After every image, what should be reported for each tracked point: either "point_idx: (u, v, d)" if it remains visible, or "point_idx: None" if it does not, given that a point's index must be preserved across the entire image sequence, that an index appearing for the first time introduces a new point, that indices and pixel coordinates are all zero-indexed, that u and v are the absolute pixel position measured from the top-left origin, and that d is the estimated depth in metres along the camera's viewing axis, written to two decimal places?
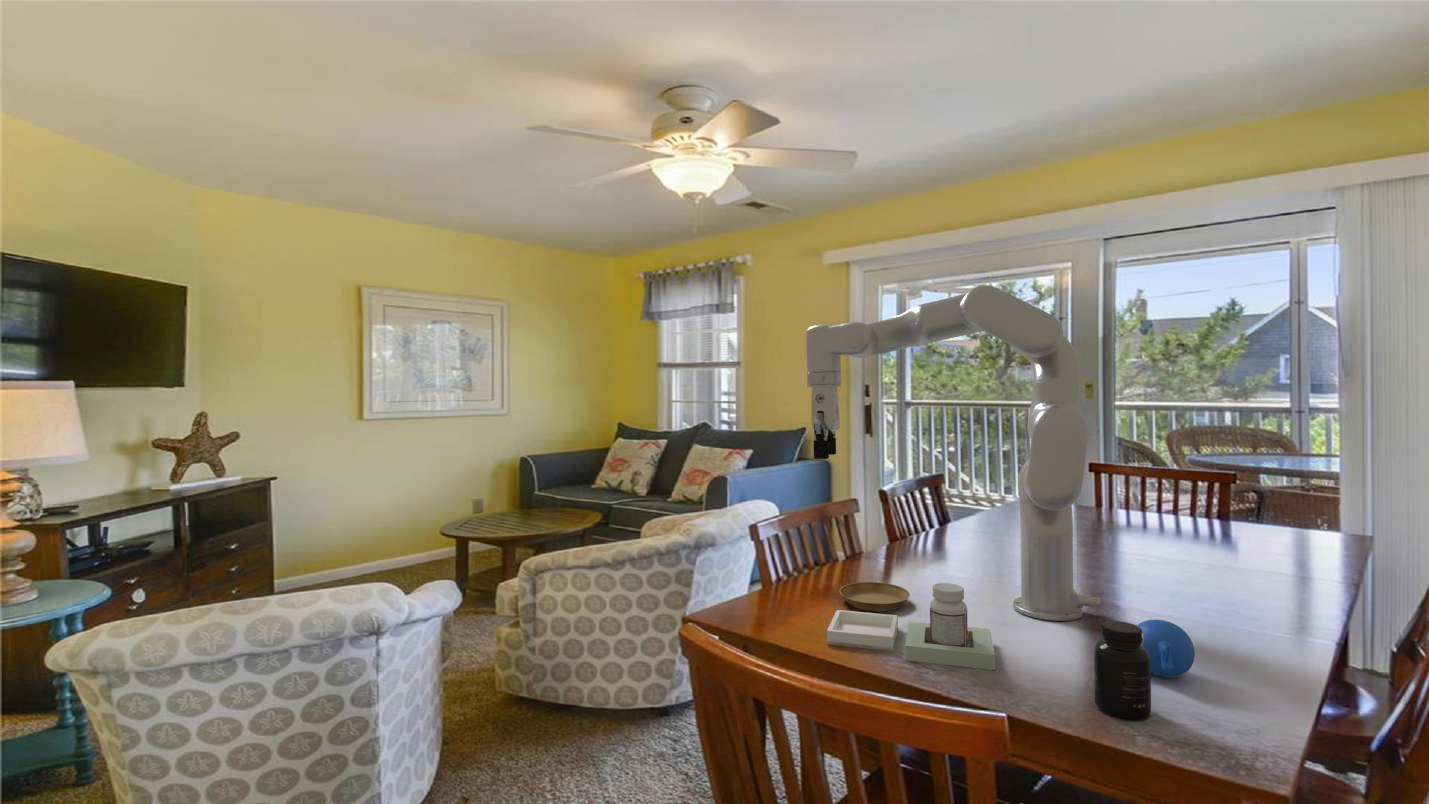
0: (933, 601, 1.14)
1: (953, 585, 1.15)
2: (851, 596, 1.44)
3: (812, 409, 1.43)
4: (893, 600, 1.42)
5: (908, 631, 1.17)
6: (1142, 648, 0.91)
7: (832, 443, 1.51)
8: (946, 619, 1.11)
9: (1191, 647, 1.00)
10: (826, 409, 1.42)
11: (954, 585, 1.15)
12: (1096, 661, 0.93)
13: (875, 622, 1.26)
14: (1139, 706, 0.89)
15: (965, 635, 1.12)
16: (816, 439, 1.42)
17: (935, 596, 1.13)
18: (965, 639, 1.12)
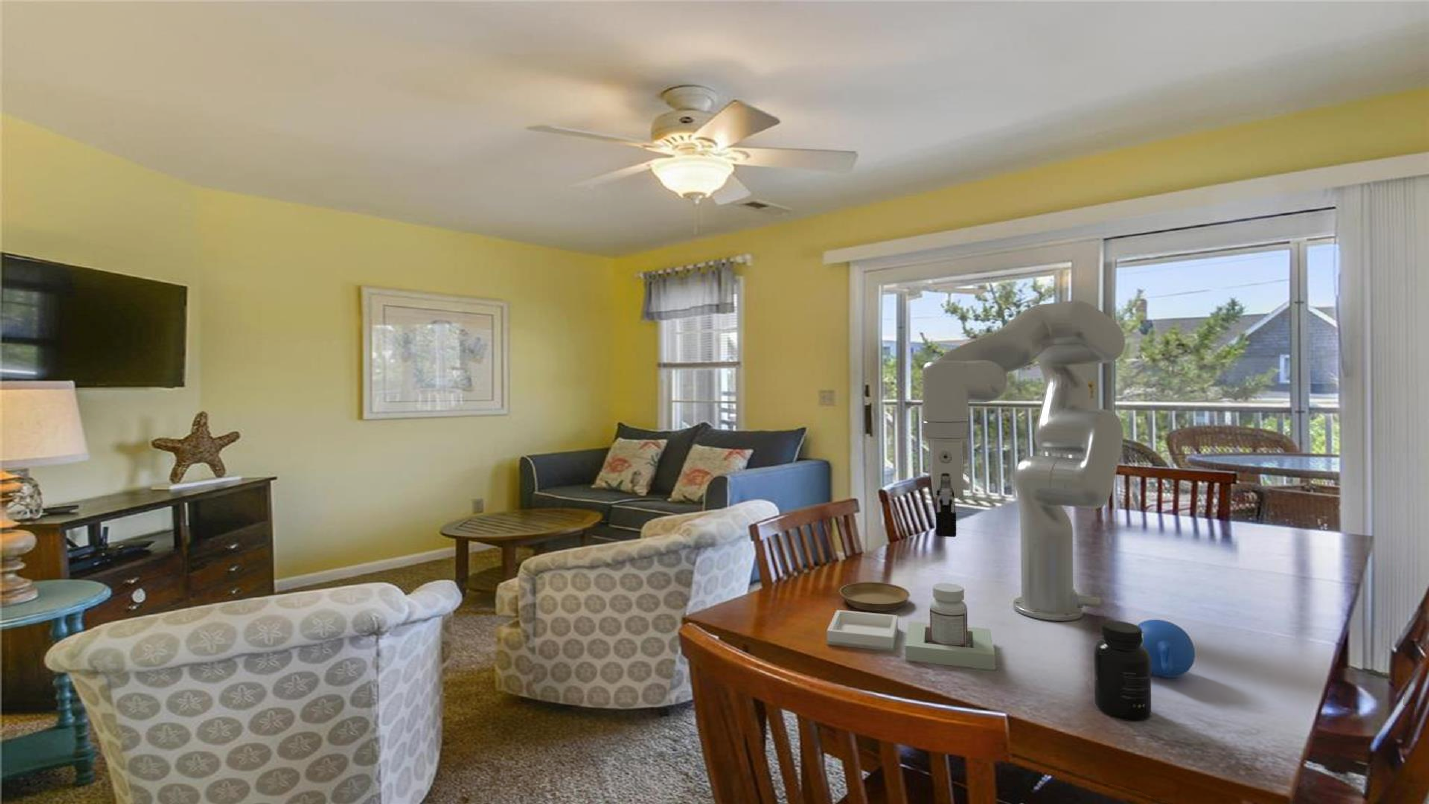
0: (933, 601, 1.14)
1: (953, 585, 1.15)
2: (851, 596, 1.44)
3: (934, 471, 1.10)
4: (893, 600, 1.42)
5: (908, 631, 1.17)
6: (1142, 648, 0.91)
7: None
8: (946, 619, 1.11)
9: (1191, 647, 1.00)
10: (954, 471, 1.08)
11: (954, 585, 1.15)
12: (1096, 661, 0.93)
13: (875, 622, 1.26)
14: (1139, 706, 0.89)
15: (965, 635, 1.12)
16: (941, 511, 1.08)
17: (935, 596, 1.13)
18: (965, 639, 1.12)
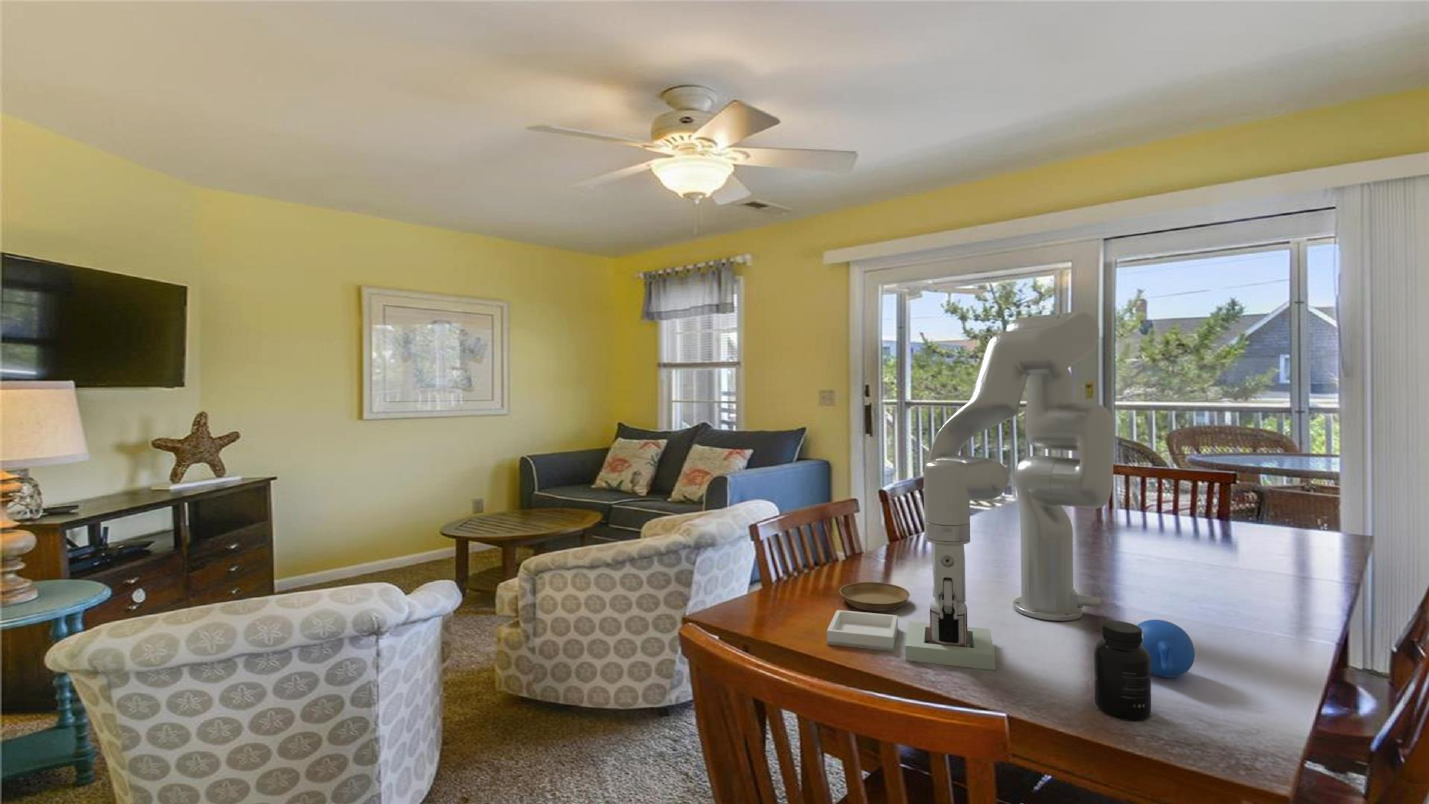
0: (933, 601, 1.14)
1: None
2: (851, 596, 1.44)
3: (936, 574, 1.10)
4: (893, 600, 1.42)
5: (908, 631, 1.17)
6: (1142, 648, 0.91)
7: None
8: None
9: (1190, 647, 1.00)
10: (956, 576, 1.09)
11: None
12: (1096, 661, 0.93)
13: (875, 622, 1.26)
14: (1139, 706, 0.89)
15: (965, 635, 1.12)
16: (943, 618, 1.10)
17: None
18: (965, 639, 1.12)
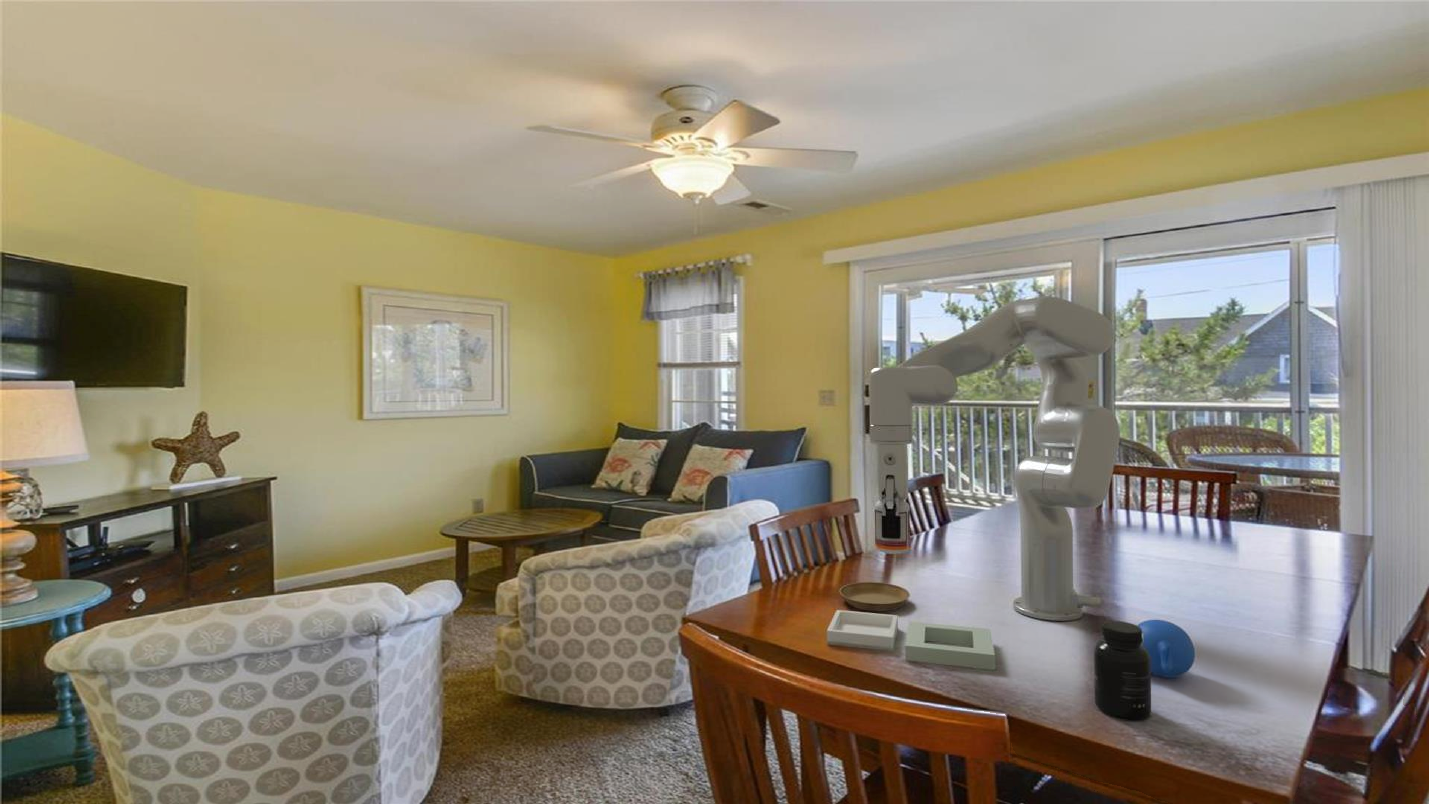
0: (878, 502, 1.19)
1: None
2: (851, 596, 1.44)
3: (879, 472, 1.14)
4: (893, 600, 1.42)
5: (908, 631, 1.17)
6: (1142, 648, 0.91)
7: None
8: None
9: (1191, 647, 1.00)
10: (898, 473, 1.13)
11: None
12: (1096, 661, 0.93)
13: (875, 622, 1.26)
14: (1139, 706, 0.89)
15: (907, 533, 1.16)
16: (886, 514, 1.14)
17: None
18: (907, 536, 1.16)
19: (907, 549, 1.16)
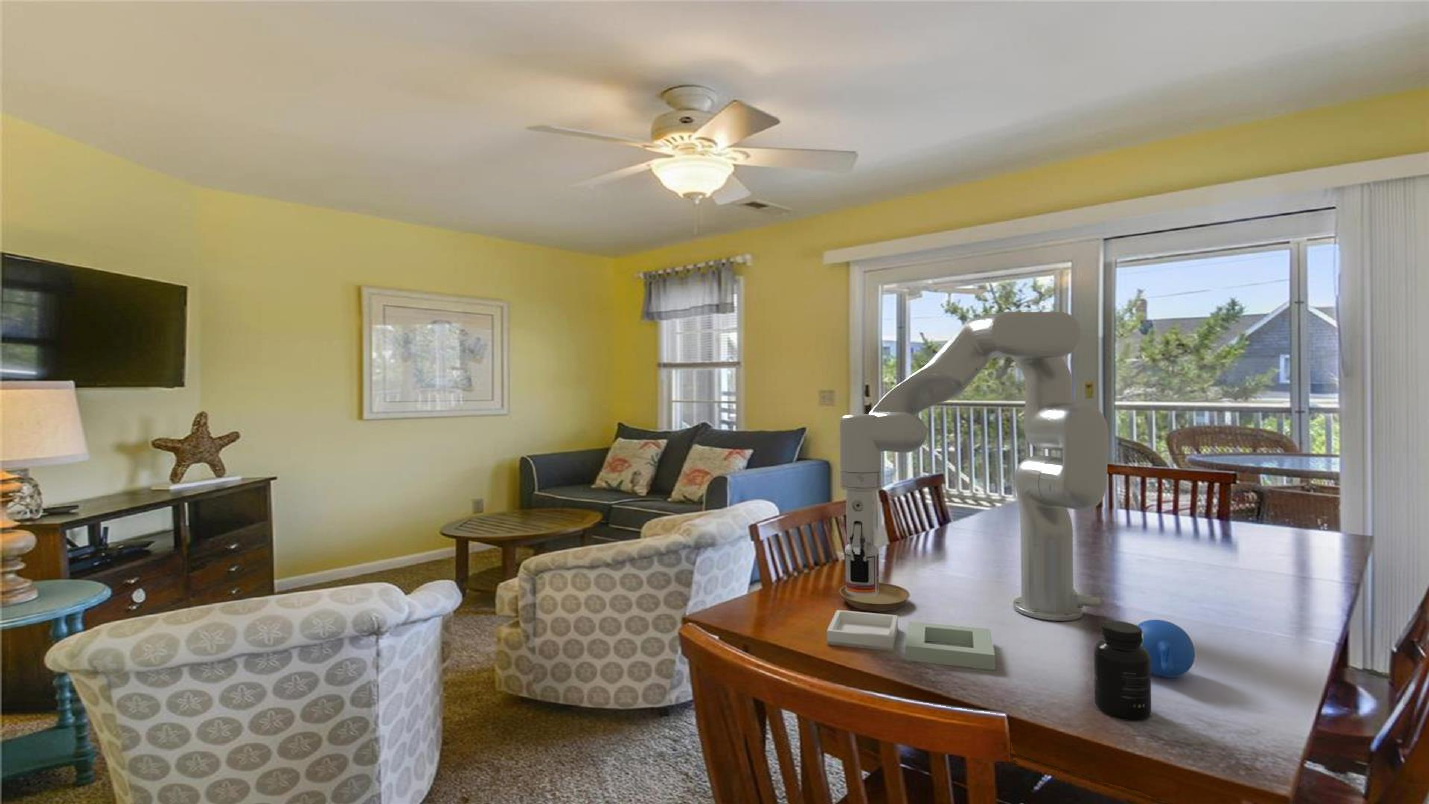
0: (847, 545, 1.22)
1: None
2: (851, 596, 1.44)
3: (848, 518, 1.18)
4: (893, 600, 1.42)
5: (908, 631, 1.17)
6: (1142, 648, 0.91)
7: None
8: None
9: (1191, 647, 1.00)
10: (865, 519, 1.16)
11: None
12: (1096, 661, 0.93)
13: (875, 622, 1.26)
14: (1139, 706, 0.89)
15: (876, 576, 1.20)
16: (854, 559, 1.18)
17: None
18: (875, 580, 1.20)
19: (876, 592, 1.20)
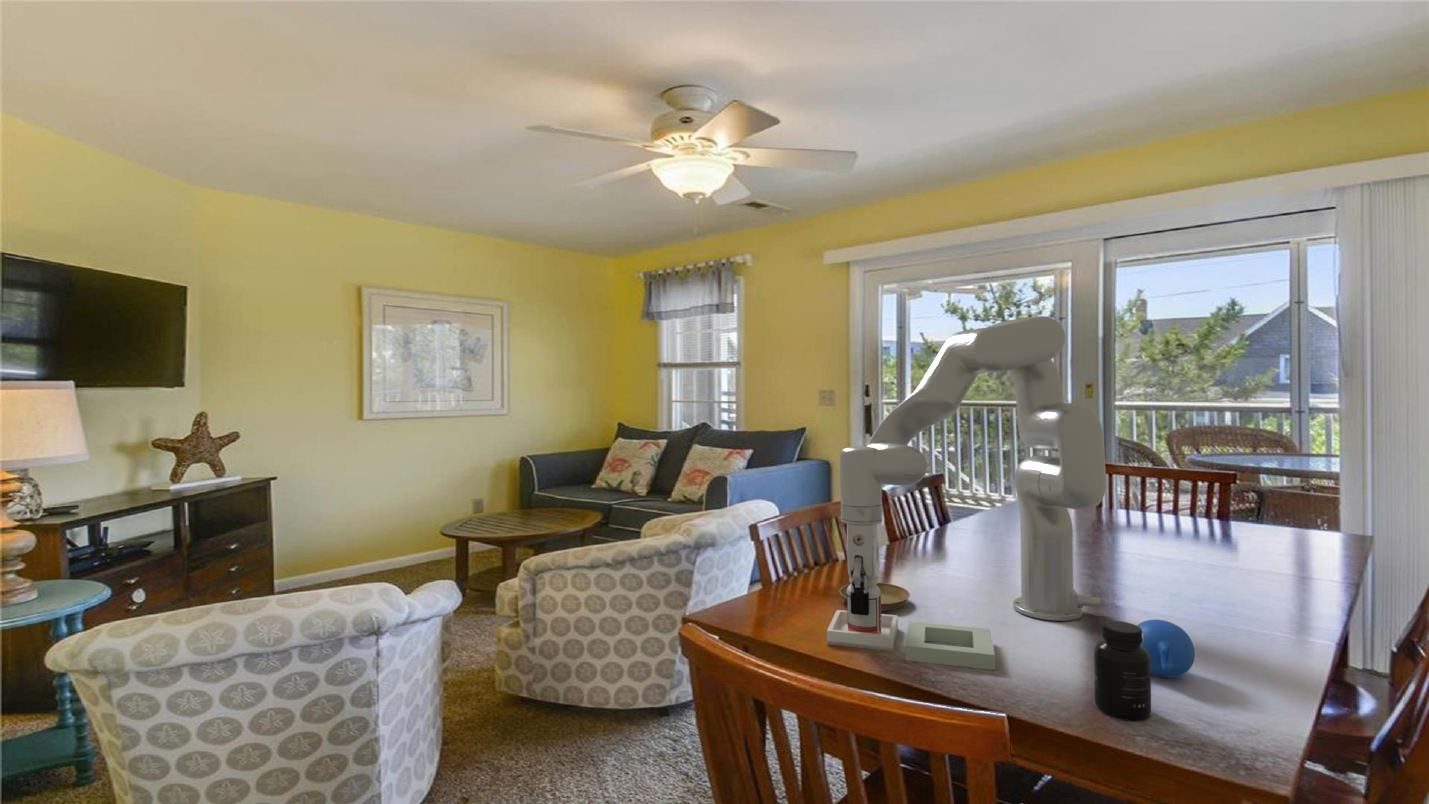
0: (849, 586, 1.22)
1: None
2: None
3: (848, 552, 1.18)
4: (893, 600, 1.42)
5: (908, 631, 1.17)
6: (1142, 648, 0.91)
7: None
8: None
9: (1191, 647, 1.00)
10: (866, 554, 1.17)
11: None
12: (1096, 661, 0.93)
13: None
14: (1139, 706, 0.89)
15: (878, 618, 1.19)
16: (854, 591, 1.17)
17: (850, 581, 1.21)
18: (878, 621, 1.19)
19: None
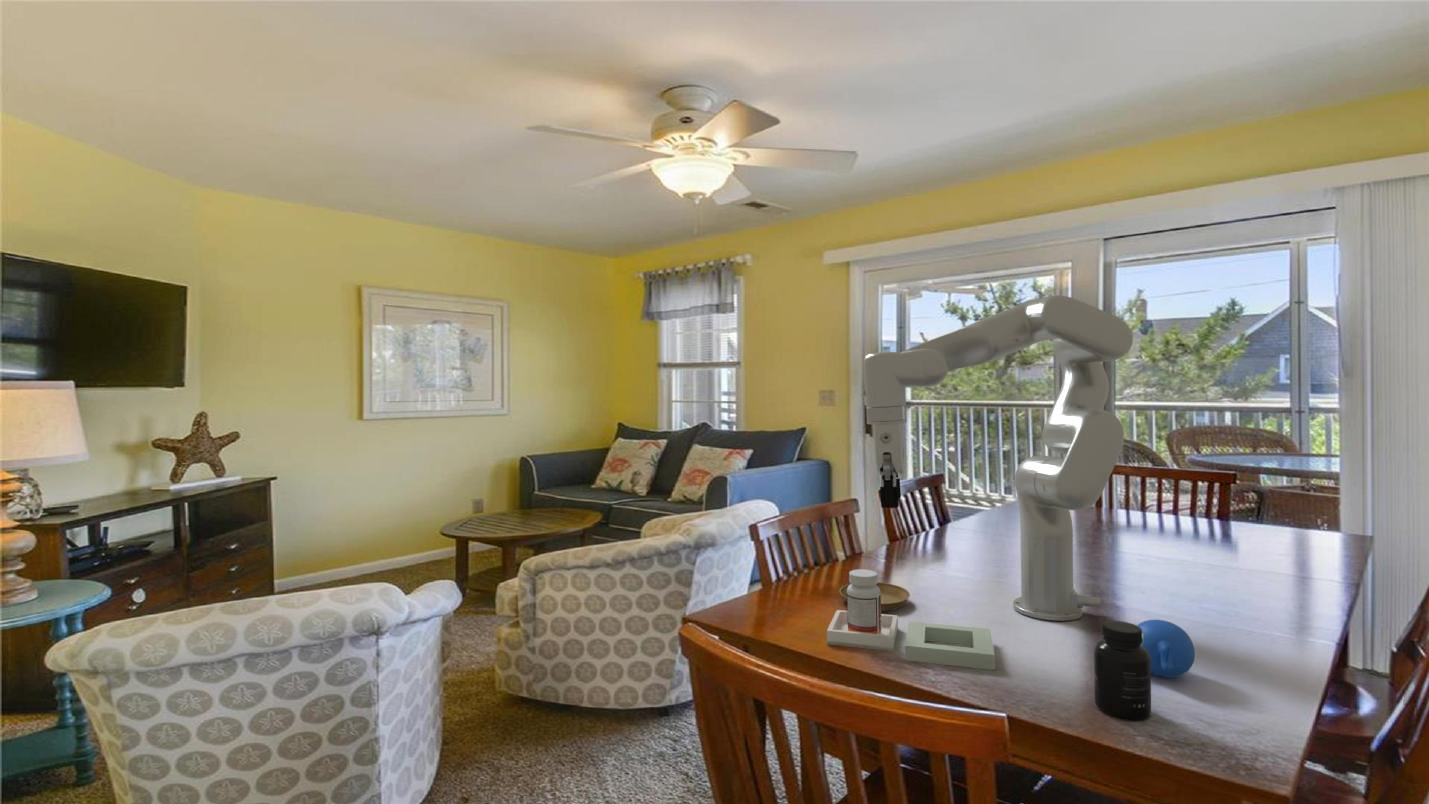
0: (849, 586, 1.22)
1: (868, 571, 1.23)
2: None
3: (877, 450, 1.24)
4: (893, 600, 1.42)
5: (908, 631, 1.17)
6: (1142, 648, 0.91)
7: (896, 485, 1.32)
8: (859, 602, 1.19)
9: (1191, 647, 1.00)
10: (894, 450, 1.23)
11: (870, 571, 1.22)
12: (1096, 661, 0.93)
13: None
14: (1139, 706, 0.89)
15: (878, 617, 1.19)
16: (884, 485, 1.22)
17: (850, 581, 1.21)
18: (878, 621, 1.19)
19: None
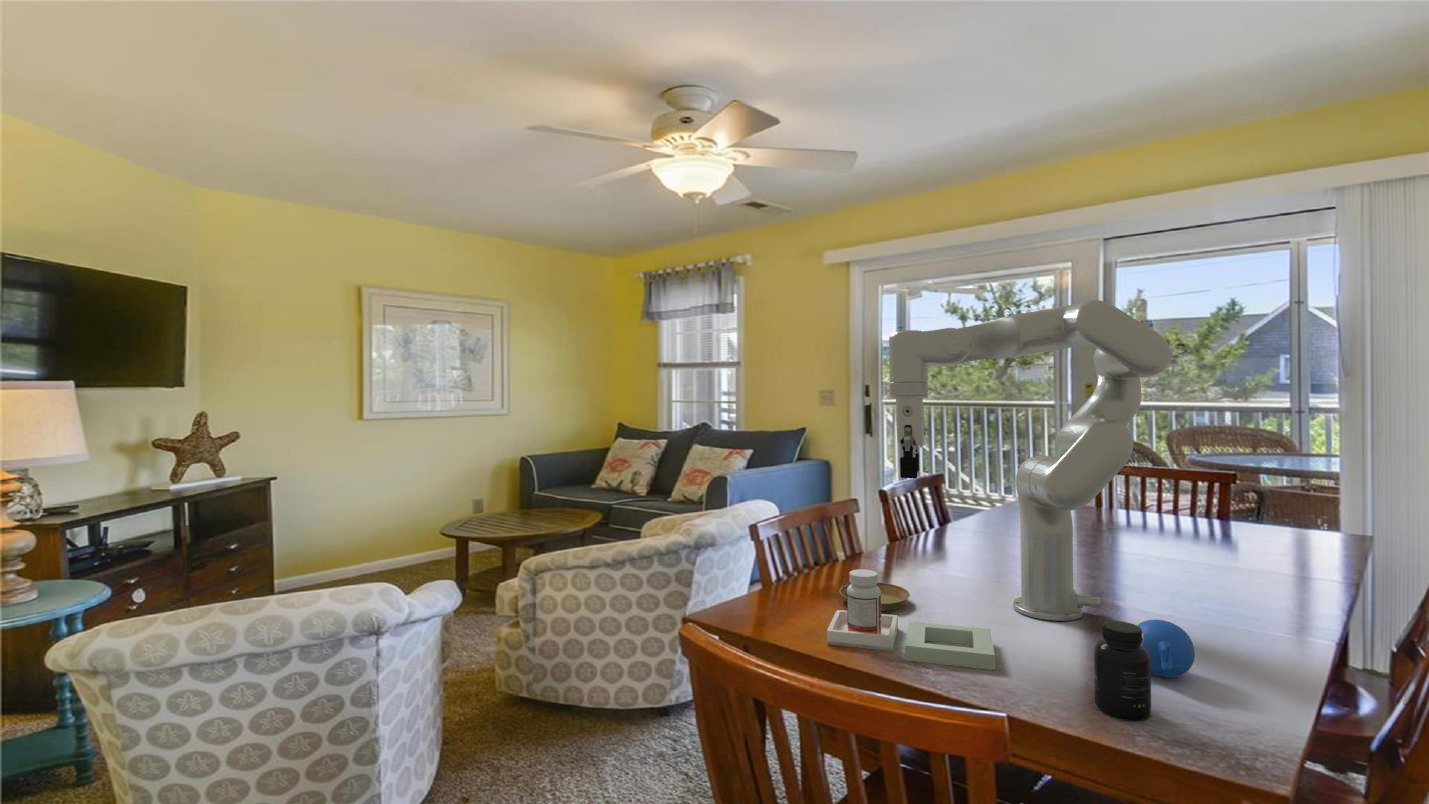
0: (850, 586, 1.22)
1: (868, 571, 1.23)
2: None
3: (898, 423, 1.30)
4: (893, 600, 1.42)
5: (908, 631, 1.17)
6: (1142, 648, 0.91)
7: None
8: (859, 602, 1.19)
9: (1191, 647, 1.00)
10: (915, 423, 1.29)
11: (870, 571, 1.22)
12: (1096, 661, 0.93)
13: None
14: (1139, 706, 0.89)
15: (878, 618, 1.19)
16: (904, 456, 1.28)
17: (851, 581, 1.21)
18: (878, 621, 1.19)
19: None
